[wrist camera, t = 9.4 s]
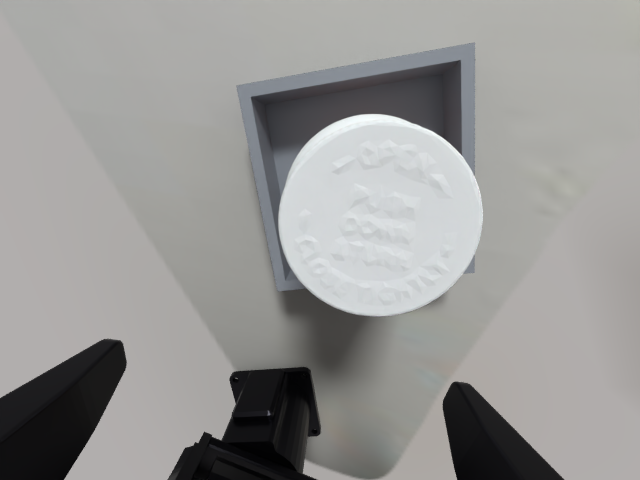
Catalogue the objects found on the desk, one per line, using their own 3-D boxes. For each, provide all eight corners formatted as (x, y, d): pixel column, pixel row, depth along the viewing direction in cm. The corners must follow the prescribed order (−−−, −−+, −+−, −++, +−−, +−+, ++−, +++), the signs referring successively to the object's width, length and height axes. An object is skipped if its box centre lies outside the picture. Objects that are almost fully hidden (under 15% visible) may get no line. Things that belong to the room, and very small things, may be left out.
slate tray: (452, 251, 20) (474, 272, 17) (288, 269, 21) (277, 291, 18) (449, 63, 17) (474, 42, 13) (256, 97, 18) (236, 85, 15)
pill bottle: (372, 248, 19) (405, 373, 9) (290, 197, 19) (217, 264, 8) (431, 164, 18) (568, 191, 7) (343, 106, 17) (339, 36, 6)
